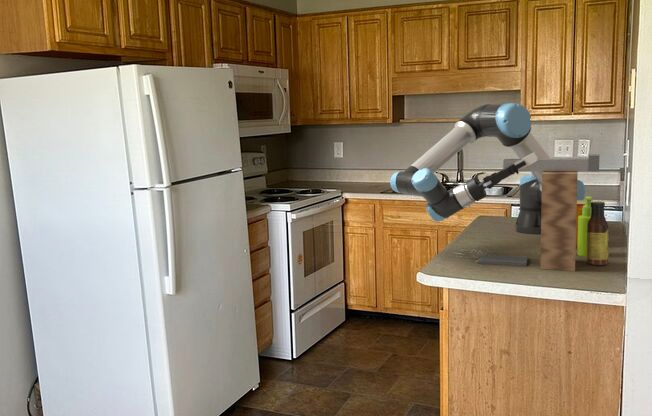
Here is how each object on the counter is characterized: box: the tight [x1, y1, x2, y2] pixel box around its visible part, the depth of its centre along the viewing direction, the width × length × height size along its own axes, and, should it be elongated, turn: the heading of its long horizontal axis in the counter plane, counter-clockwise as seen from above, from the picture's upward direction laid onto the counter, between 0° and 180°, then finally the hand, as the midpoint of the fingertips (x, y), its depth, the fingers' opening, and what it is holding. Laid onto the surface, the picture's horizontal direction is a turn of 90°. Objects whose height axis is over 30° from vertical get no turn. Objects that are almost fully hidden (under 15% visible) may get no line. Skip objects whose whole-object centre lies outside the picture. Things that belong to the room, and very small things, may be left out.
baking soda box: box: [576, 199, 594, 248], centre depth 218 cm, size 10×6×16 cm
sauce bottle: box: [586, 200, 610, 266], centre depth 191 cm, size 6×6×20 cm
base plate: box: [477, 253, 529, 267], centre depth 200 cm, size 15×9×1 cm, turn 67°
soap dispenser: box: [576, 195, 593, 258], centre depth 202 cm, size 6×7×20 cm
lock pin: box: [502, 153, 600, 172], centre depth 190 cm, size 28×5×5 cm, turn 67°
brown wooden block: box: [539, 171, 579, 272], centre depth 192 cm, size 10×14×30 cm
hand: (535, 156), depth 191 cm, fingers closed on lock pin, 4 cm apart
